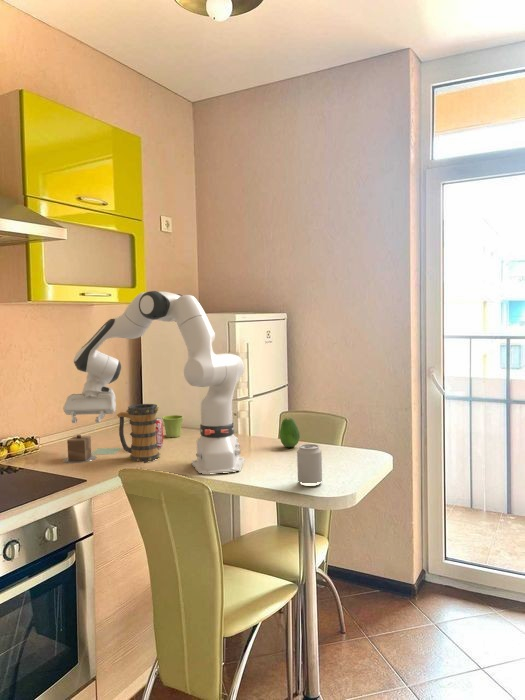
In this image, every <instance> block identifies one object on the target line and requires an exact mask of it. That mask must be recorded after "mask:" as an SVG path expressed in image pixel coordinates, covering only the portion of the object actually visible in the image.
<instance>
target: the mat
mask: <svg viewBox="0 0 525 700" xmlns="http://www.w3.org/2000/svg"><path fill="white" fill-rule="evenodd" d="M122 449H123V447H112V448H111V447H110V448H109V447H105V448H102V447H101V448H97V449H95V450H94V451H93V452H92V451H91V455H93V456H97V455H116V454H117V453H118V452H120V450H122Z"/></svg>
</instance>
